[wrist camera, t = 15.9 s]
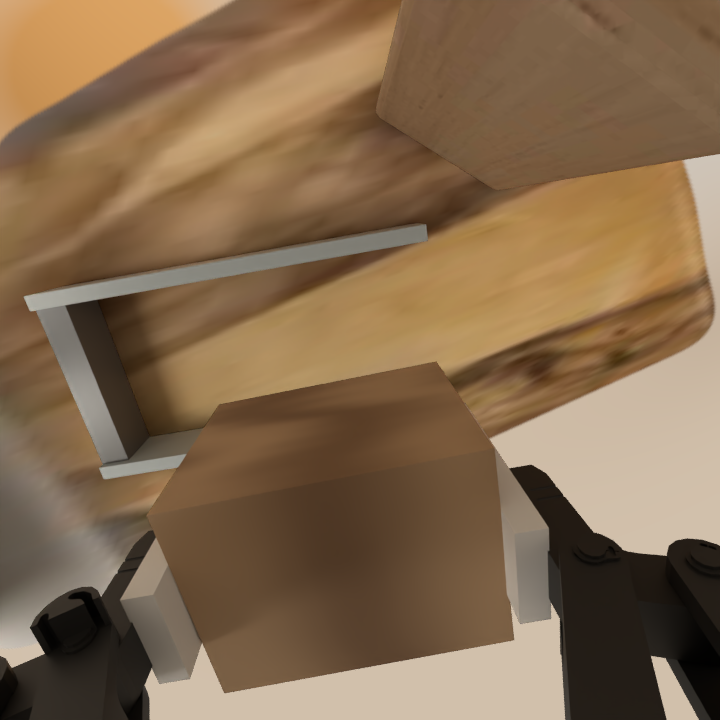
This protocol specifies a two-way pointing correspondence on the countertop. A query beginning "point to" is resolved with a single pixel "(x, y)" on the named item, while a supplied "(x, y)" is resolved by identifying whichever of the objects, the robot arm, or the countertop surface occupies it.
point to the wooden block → (555, 84)
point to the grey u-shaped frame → (102, 363)
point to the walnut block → (338, 529)
